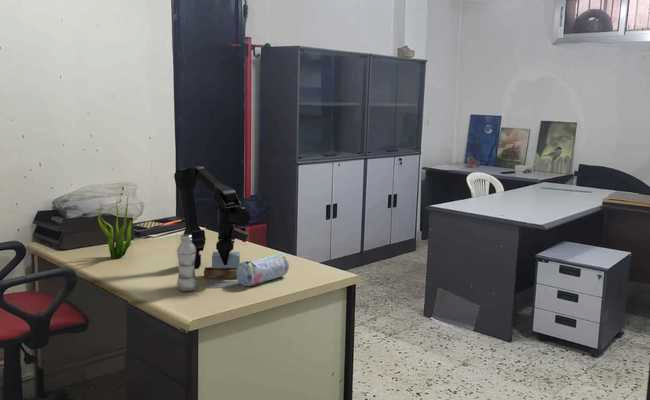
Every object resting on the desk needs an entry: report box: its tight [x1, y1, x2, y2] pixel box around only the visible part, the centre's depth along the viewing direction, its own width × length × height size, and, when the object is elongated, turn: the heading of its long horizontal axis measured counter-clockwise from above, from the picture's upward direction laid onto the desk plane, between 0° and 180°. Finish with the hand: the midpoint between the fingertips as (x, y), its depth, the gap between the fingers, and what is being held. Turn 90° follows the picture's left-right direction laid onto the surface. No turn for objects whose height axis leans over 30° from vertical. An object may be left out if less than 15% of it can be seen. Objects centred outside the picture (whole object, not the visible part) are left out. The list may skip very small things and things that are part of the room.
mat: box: [206, 280, 242, 289], centre depth 221 cm, size 12×8×1 cm, turn 96°
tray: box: [203, 266, 237, 280], centre depth 231 cm, size 16×5×3 cm, turn 96°
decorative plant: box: [97, 193, 143, 259], centre depth 255 cm, size 18×30×15 cm
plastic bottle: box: [176, 233, 197, 292], centre depth 212 cm, size 6×7×20 cm
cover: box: [211, 251, 241, 268], centre depth 230 cm, size 10×7×4 cm
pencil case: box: [236, 252, 290, 287], centre depth 226 cm, size 21×9×10 cm, turn 139°
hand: (226, 262), depth 230 cm, fingers closed on cover, 7 cm apart
